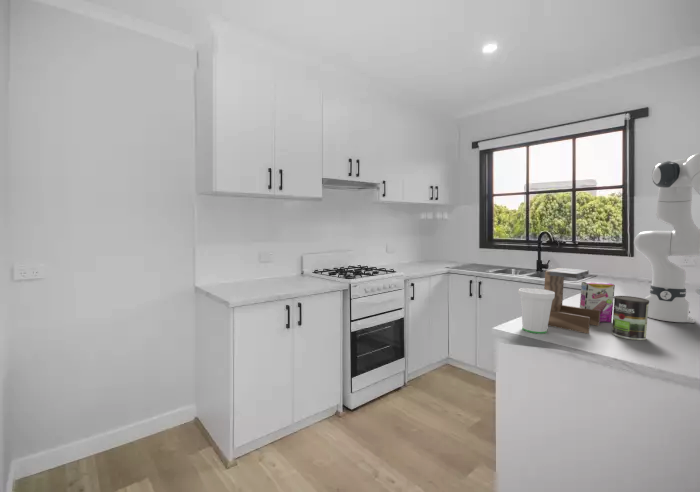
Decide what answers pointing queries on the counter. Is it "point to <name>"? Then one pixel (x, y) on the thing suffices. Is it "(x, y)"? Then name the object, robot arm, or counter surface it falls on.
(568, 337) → the counter surface
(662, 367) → the counter surface
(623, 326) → the coffee can
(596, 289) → the candy bar box
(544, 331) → the cup
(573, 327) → the wooden caddy stand
